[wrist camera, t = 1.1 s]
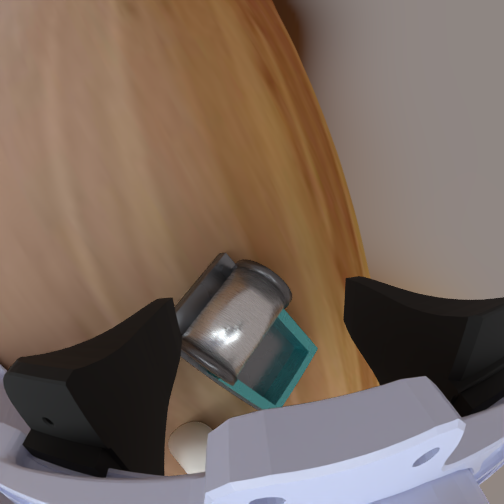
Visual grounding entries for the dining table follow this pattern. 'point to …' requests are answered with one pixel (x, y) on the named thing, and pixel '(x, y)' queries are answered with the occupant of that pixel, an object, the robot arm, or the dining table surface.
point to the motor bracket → (244, 332)
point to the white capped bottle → (190, 446)
